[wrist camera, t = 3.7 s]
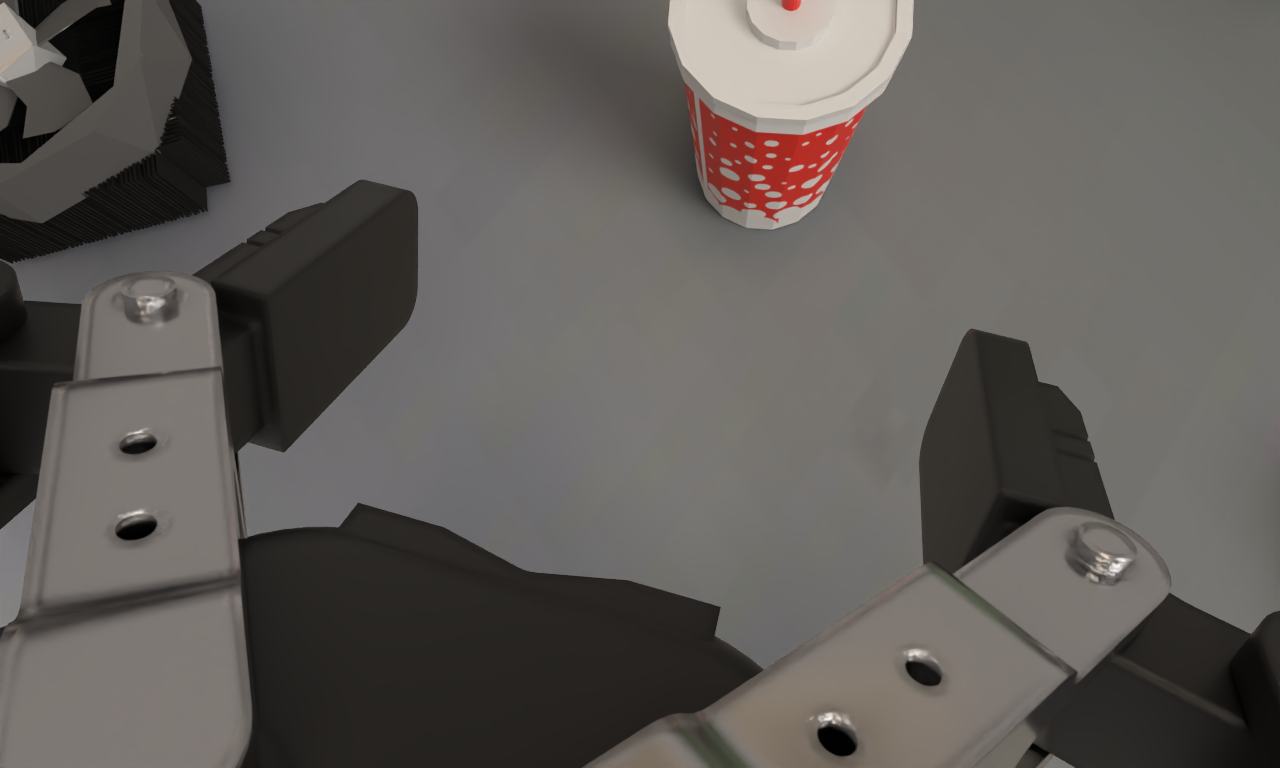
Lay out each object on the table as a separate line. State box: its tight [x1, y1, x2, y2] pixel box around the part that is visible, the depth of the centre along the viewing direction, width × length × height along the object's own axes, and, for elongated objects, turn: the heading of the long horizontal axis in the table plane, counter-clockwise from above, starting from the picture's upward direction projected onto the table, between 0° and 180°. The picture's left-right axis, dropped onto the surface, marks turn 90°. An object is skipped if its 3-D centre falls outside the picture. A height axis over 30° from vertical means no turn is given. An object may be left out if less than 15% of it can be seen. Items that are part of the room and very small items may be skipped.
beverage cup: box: [668, 0, 914, 230], centre depth 24 cm, size 6×6×14 cm
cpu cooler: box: [0, 0, 230, 263], centre depth 30 cm, size 10×6×10 cm
